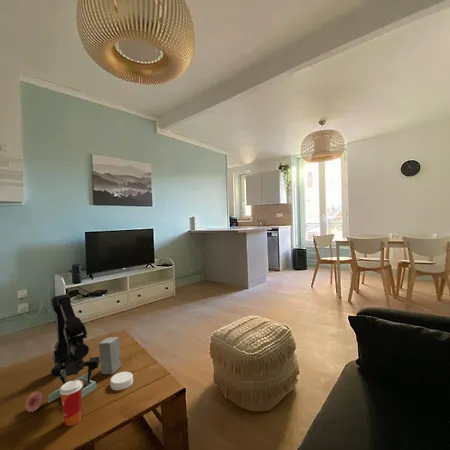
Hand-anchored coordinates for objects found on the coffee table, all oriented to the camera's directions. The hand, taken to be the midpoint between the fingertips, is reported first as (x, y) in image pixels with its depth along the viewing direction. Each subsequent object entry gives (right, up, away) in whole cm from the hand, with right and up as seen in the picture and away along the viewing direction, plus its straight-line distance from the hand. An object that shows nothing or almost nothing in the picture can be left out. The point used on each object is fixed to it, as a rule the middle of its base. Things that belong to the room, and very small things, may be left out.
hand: (77, 384), depth 124 cm
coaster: (+18, -3, +5) cm, 19 cm away
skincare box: (+8, -3, +17) cm, 19 cm away
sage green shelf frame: (0, -4, 0) cm, 4 cm away
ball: (0, -3, 0) cm, 3 cm away
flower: (-12, -5, -10) cm, 16 cm away
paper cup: (+8, -4, -18) cm, 20 cm away
